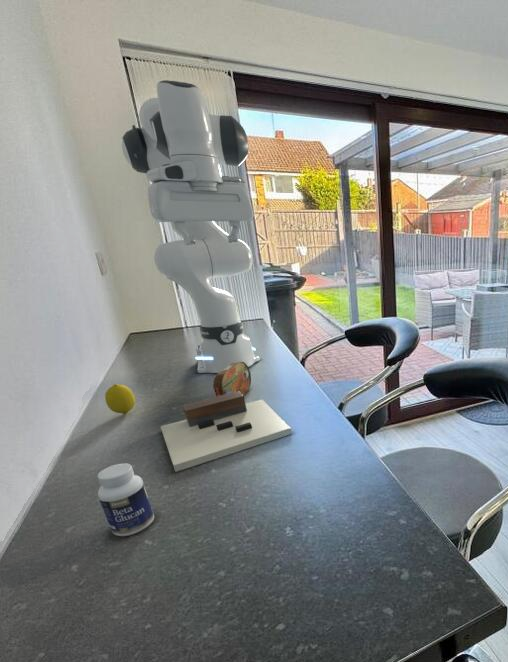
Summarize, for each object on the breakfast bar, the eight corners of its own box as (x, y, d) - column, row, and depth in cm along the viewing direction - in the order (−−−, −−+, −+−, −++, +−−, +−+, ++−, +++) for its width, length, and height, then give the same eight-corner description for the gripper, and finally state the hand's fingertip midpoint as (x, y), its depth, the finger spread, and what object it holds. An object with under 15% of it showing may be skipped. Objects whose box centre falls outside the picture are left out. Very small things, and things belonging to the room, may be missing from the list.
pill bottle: (119, 543, 57) (97, 487, 53) (107, 527, 60) (85, 473, 57) (161, 521, 61) (142, 468, 57) (147, 508, 64) (129, 456, 61)
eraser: (186, 420, 90) (182, 404, 88) (242, 405, 97) (239, 390, 95) (189, 427, 87) (185, 410, 85) (247, 411, 94) (243, 395, 92)
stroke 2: (217, 429, 86) (216, 424, 85) (231, 424, 87) (230, 420, 87) (218, 431, 85) (217, 426, 84) (233, 426, 86) (232, 422, 86)
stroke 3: (236, 430, 85) (235, 426, 84) (250, 426, 86) (249, 422, 86) (237, 432, 84) (236, 428, 84) (252, 428, 86) (251, 424, 85)
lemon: (144, 409, 100) (134, 379, 97) (126, 419, 95) (116, 388, 92) (124, 409, 100) (114, 379, 97) (105, 419, 95) (94, 388, 92)
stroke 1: (198, 427, 87) (197, 423, 86) (213, 423, 88) (212, 419, 88) (199, 429, 86) (198, 425, 85) (214, 425, 87) (213, 421, 87)
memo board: (162, 432, 88) (160, 426, 88) (263, 404, 101) (262, 399, 100) (175, 472, 73) (173, 465, 73) (291, 434, 86) (290, 427, 85)
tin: (228, 408, 99) (220, 377, 96) (215, 409, 99) (208, 377, 96) (254, 385, 113) (248, 357, 110) (243, 385, 113) (237, 357, 110)
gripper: (238, 178, 92) (249, 241, 97) (137, 171, 77) (156, 246, 82) (252, 176, 88) (263, 241, 93) (149, 168, 74) (168, 246, 79)
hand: (212, 244), depth 88 cm, fingers open, 8 cm apart
